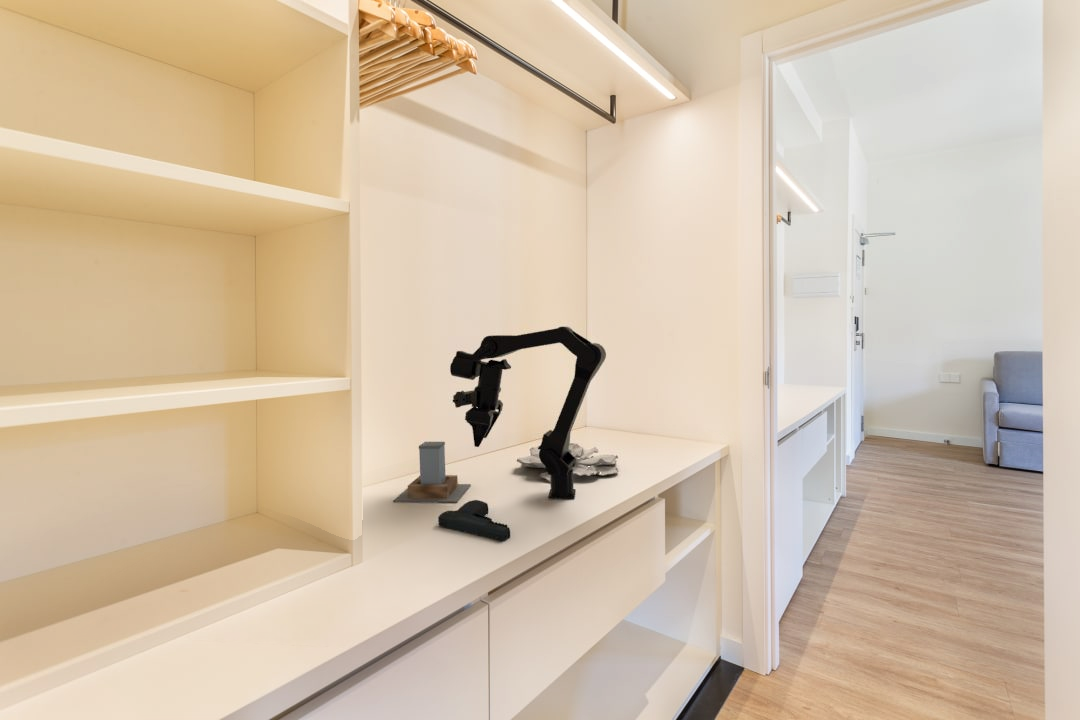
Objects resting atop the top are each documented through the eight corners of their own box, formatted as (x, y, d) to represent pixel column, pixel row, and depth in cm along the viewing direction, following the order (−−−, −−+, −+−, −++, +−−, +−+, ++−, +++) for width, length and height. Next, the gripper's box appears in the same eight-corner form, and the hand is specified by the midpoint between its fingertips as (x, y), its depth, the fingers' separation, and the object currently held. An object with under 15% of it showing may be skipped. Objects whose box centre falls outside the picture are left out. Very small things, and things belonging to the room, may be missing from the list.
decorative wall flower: (624, 459, 139) (512, 460, 140) (624, 485, 139) (512, 485, 140) (613, 436, 169) (520, 437, 170) (613, 457, 169) (521, 457, 170)
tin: (446, 489, 136) (444, 441, 135) (440, 495, 131) (438, 446, 130) (427, 488, 136) (425, 441, 136) (420, 495, 131) (418, 446, 130)
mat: (470, 485, 140) (470, 484, 140) (456, 503, 126) (456, 501, 126) (413, 485, 141) (413, 483, 141) (393, 502, 127) (393, 500, 127)
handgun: (534, 526, 111) (501, 547, 101) (470, 511, 121) (434, 529, 110) (534, 512, 111) (500, 531, 101) (470, 498, 120) (434, 514, 110)
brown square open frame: (457, 486, 138) (457, 475, 138) (447, 498, 128) (446, 486, 128) (421, 486, 139) (420, 475, 139) (408, 497, 129) (407, 485, 129)
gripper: (467, 373, 144) (459, 428, 145) (449, 383, 125) (440, 445, 127) (506, 380, 143) (498, 435, 145) (494, 391, 124) (484, 454, 126)
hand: (480, 442), depth 136 cm, fingers open, 9 cm apart
